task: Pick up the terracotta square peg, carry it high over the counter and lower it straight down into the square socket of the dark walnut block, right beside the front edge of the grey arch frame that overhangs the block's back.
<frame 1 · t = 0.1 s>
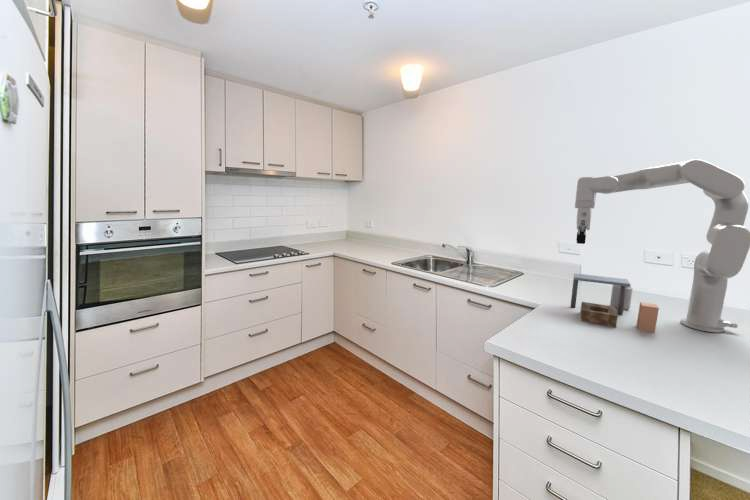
hand: (580, 242, 150), 31 cm above the worktop, tool pointing down, fingers open, 9 cm apart
socket block: (597, 319, 139), on the worktop
grey arch frame: (596, 312, 147), on the worktop
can: (619, 308, 154), on the worktop
peg: (645, 328, 130), on the worktop
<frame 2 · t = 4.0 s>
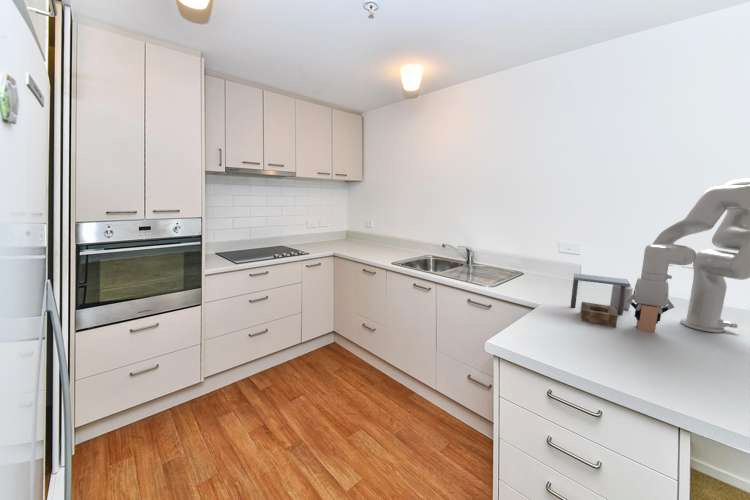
hand: (646, 320, 129), 3 cm above the worktop, tool pointing down, fingers closed on peg, 4 cm apart
peg: (645, 328, 130), on the worktop, touching gripper
everything else where it was.
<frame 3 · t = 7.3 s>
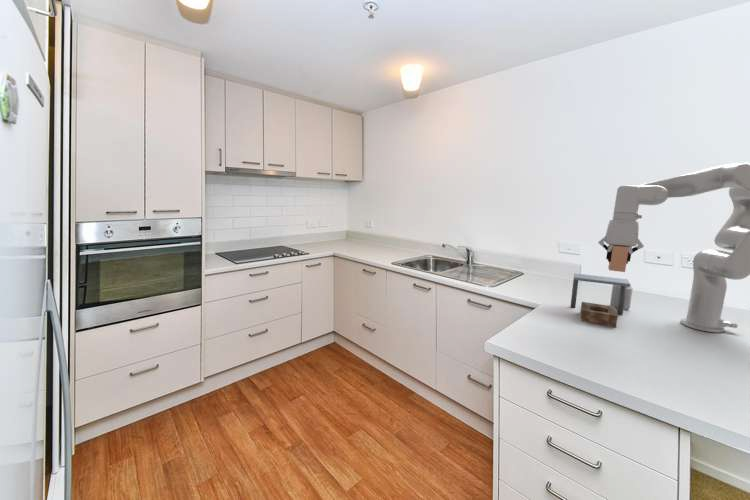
hand: (617, 261, 131), 26 cm above the worktop, tool pointing down, fingers closed on peg, 4 cm apart
peg: (616, 270, 132), point 23 cm above the worktop, touching gripper
everything else where it was.
when the fingers open (6 cm above the worktop, at t = 10.9 s): peg drops 3 cm, resting in socket block.
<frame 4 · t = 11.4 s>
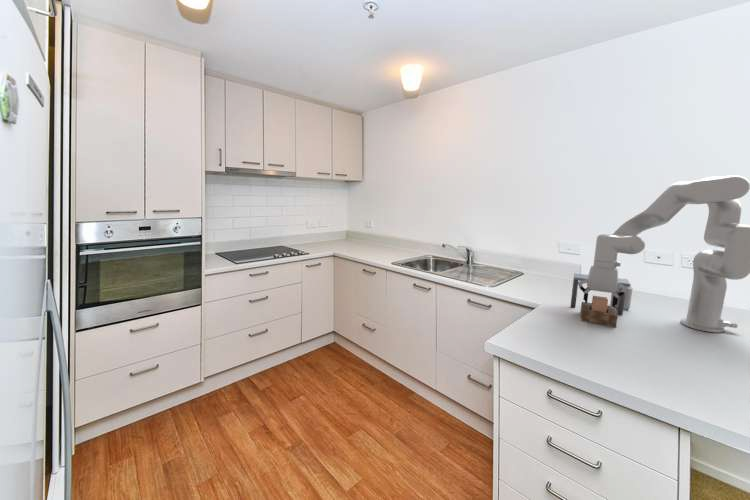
hand: (599, 304, 136), 7 cm above the worktop, tool pointing down, fingers open, 9 cm apart
peg: (597, 320, 138), resting in socket block
everything else where it was.
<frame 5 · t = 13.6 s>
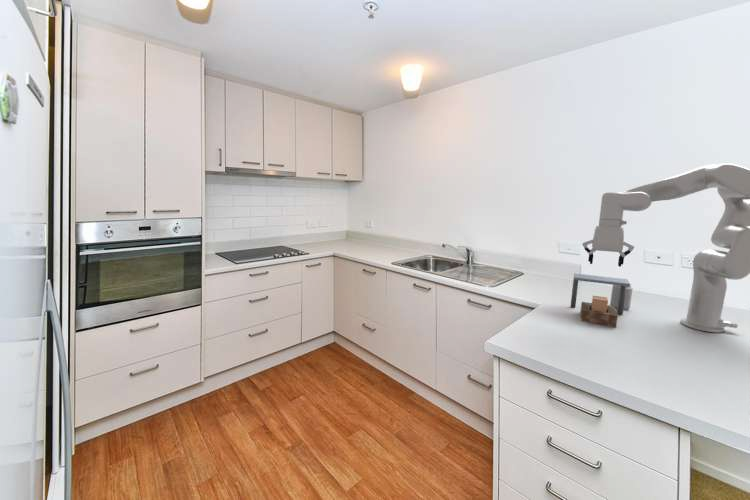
hand: (605, 264, 134), 24 cm above the worktop, tool pointing down, fingers open, 9 cm apart
nothing on the worktop moved.
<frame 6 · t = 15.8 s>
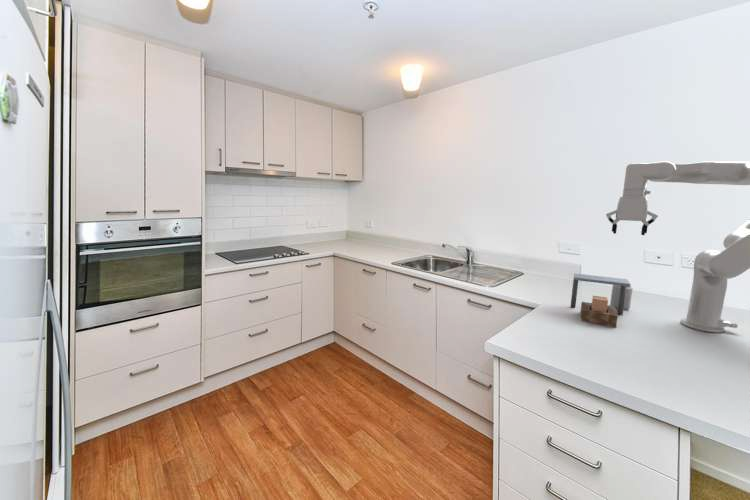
hand: (628, 234, 138), 36 cm above the worktop, tool pointing down, fingers open, 9 cm apart
nothing on the worktop moved.
at the end: peg 0.0 cm from the target spot on the socket block, point 0.0 cm above the socket block's base; peg tilted 0°; the gripper is holding nothing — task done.
